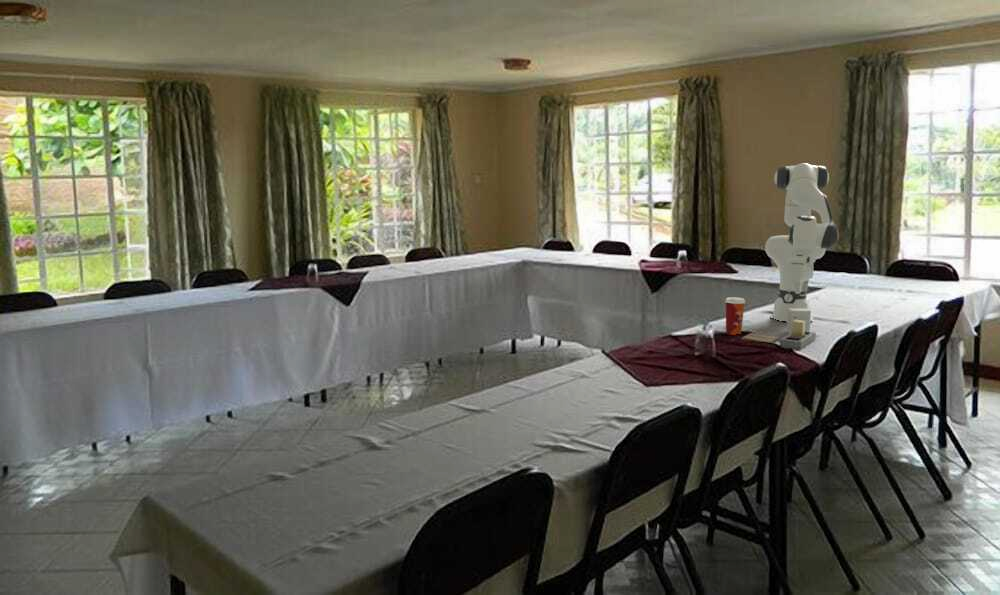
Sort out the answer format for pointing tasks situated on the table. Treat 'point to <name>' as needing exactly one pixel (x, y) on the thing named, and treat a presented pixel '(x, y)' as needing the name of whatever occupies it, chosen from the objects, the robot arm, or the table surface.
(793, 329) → the peg
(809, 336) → the grey slotted block
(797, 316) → the small box
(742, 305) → the coffee cup
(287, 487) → the table surface
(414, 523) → the table surface
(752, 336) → the pad
